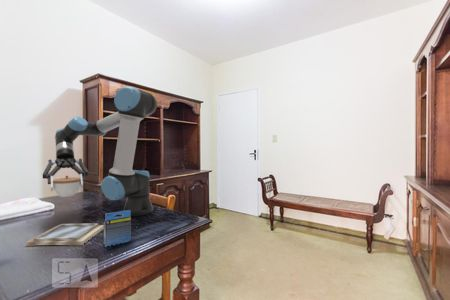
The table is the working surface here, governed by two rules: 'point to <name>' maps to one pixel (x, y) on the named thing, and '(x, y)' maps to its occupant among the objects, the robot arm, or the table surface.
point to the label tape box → (117, 228)
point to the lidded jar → (66, 186)
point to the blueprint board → (67, 235)
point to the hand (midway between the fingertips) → (67, 187)
